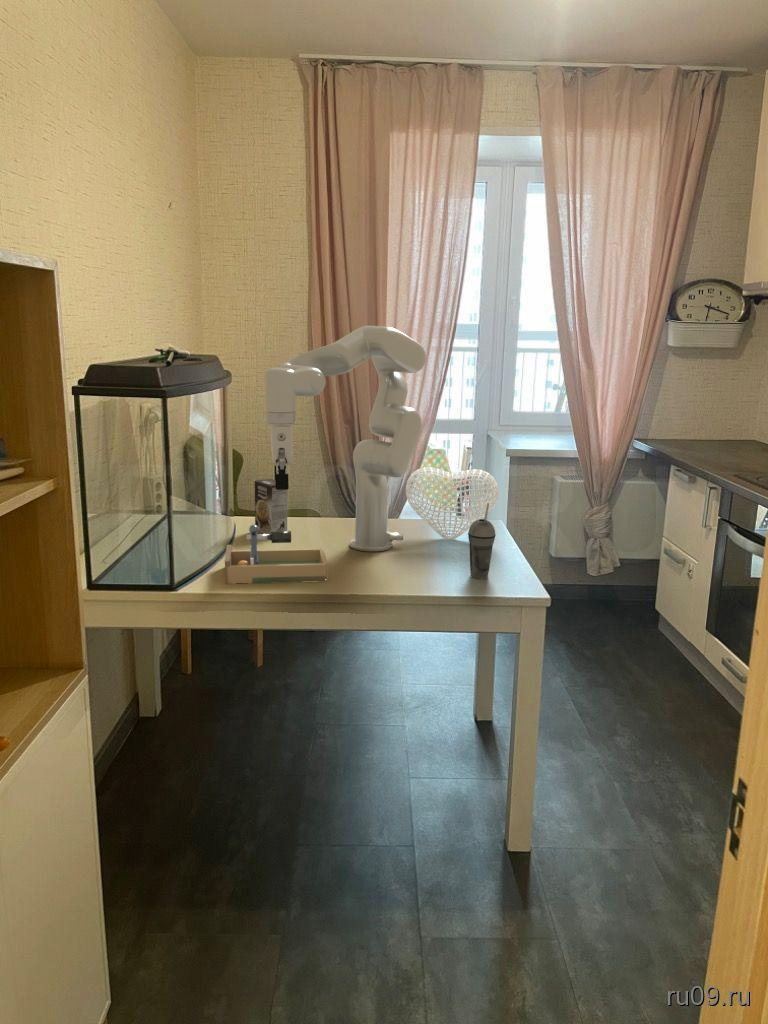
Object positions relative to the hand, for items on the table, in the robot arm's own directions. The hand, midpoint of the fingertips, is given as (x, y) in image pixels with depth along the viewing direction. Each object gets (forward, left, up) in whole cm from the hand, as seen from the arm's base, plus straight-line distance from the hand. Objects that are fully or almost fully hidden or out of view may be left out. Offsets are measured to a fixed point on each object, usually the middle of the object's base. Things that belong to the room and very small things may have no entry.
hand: (281, 485), depth 201 cm
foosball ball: (+10, 0, -22) cm, 24 cm away
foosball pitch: (+1, 0, -24) cm, 24 cm away
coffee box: (+2, -39, -24) cm, 46 cm away
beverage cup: (-52, +6, -24) cm, 58 cm away
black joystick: (+3, 0, -22) cm, 22 cm away
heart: (-52, -28, -24) cm, 64 cm away
